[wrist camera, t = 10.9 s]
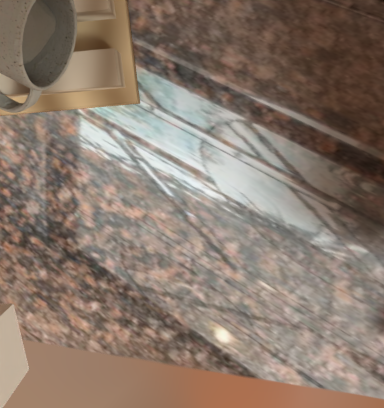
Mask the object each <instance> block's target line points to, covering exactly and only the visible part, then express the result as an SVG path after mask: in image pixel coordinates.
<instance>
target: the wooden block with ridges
mask: <svg viewBox="0 0 384 408" xmlns="http://www.w3.org/2000/svg"><path fill="white" fill-rule="evenodd" d="M73 1H74V5H75V8H76V13H77V36H76V42H75V47H74V50H73V54H72V57H71V59H70V62H69V64H68V67H67V69H66V71H65V72H64V74H63V75H62V77H61V78H60V79H59V81H58V82H56V84H55V85H53V86H52V87H51V88H49V89H47V90H42V92H41V95H40V97H39V99H38V101H37V102H36V103H35V104H34V105H33V106H31V107H29V108H27V109H26V110H24V111H21V112H18V113H11V112H7V111H4V110H2V109H0V116H4V115H16V114H27V113H38V112H49V111H61V110H72V109H83V108H95V107H106V106H117V105H129V104H140V99H139V91H138V82H137V74H136V66H135V58H134V50H133V42H132V34H131V26H130V18H129V10H128V2H127V0H73ZM29 92H30V88H28V87H26V86H24V85H22V84H20V83H18V82H16V81H15V80H13V79H11V78H9V77H7V76H5V75H3V74H1V73H0V93H2V94H4V95H5V96H7V97H9V98H11V99H12V100H14V101H16V102H19V103H24V102H25V101H26V99H27V96H28V94H29Z"/></svg>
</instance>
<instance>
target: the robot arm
mask: <svg viewBox="0 0 384 408" xmlns="http://www.w3.org/2000/svg"><path fill="white" fill-rule="evenodd" d="M28 370H29V367H28V362H27V359H26V354H25V350H24V346H23V342H22V338H21V333H20V329H19V325H18V321H17V317H16V313H15V309H14V304H0V408H3V406H4V405H5V404H6V402H7V400H8V399H9V398H10V396H11V395H12V393H13V392H14V391H15V389H16V388H17V386H18V385H19V383H20V382H21V380H22V379H23V377H24V376H25V374H26V373H27V372H28Z"/></svg>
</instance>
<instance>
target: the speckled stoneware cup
mask: <svg viewBox="0 0 384 408" xmlns="http://www.w3.org/2000/svg"><path fill="white" fill-rule="evenodd" d="M76 36H77V13H76V8H75V5H74V1H73V0H0V73H1V74H3V75H5V76H7V77H9V78H11V79H13V80H15V81H16V82H18V83H20V84H22V85H24V86H26V87H28V88H30V92H29V94H28V96H27V99H26V101H25V102H24V103H19V102H16V101H14V100H12V99H11V98H9V97H7V96H5V95H4V94H2V93H0V109H2V110H4V111H7V112H11V113H18V112H21V111H24V110H26V109H27V108H29V107H31V106H33V105H34V104H35V103H36V102H37V101H38V99H39V97H40V95H41V92H42V90H47V89H49V88H51V87H52V86H53V85H55V84H56V82H58V81H59V79H60V78H61V77H62V75H63V74H64V72H65V71H66V69H67V67H68V64H69V62H70V59H71V57H72V54H73V50H74V47H75V42H76Z"/></svg>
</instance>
